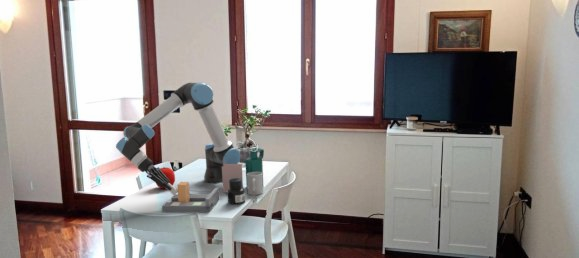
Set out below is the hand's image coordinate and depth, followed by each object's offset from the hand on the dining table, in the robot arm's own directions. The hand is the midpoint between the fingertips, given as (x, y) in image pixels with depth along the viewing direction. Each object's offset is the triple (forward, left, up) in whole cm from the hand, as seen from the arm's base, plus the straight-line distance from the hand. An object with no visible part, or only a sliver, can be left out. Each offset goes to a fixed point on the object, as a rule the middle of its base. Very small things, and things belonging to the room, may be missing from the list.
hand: (176, 193), depth 236 cm
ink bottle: (+14, +27, -7) cm, 31 cm away
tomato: (-37, +5, -7) cm, 38 cm away
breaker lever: (+2, +3, -5) cm, 6 cm away
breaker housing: (+5, +6, -7) cm, 10 cm away
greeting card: (-7, +34, -7) cm, 36 cm away
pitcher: (-6, +49, -7) cm, 50 cm away
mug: (+6, +42, -7) cm, 43 cm away
